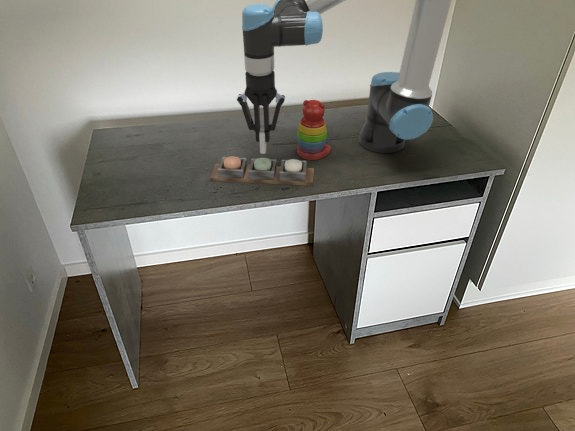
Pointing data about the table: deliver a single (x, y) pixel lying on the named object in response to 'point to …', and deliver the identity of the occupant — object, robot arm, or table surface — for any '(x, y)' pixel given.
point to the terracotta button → (232, 163)
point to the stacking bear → (312, 132)
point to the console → (263, 174)
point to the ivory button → (293, 165)
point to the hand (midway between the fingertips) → (263, 151)
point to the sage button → (262, 164)
